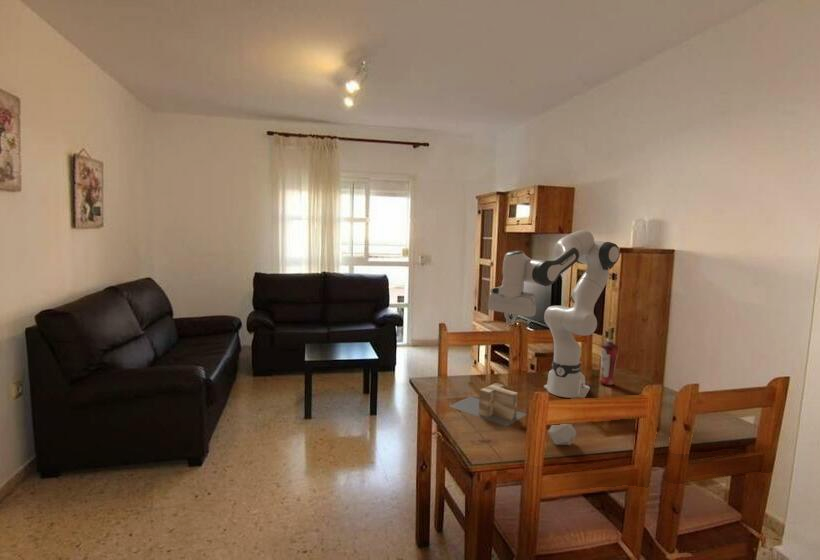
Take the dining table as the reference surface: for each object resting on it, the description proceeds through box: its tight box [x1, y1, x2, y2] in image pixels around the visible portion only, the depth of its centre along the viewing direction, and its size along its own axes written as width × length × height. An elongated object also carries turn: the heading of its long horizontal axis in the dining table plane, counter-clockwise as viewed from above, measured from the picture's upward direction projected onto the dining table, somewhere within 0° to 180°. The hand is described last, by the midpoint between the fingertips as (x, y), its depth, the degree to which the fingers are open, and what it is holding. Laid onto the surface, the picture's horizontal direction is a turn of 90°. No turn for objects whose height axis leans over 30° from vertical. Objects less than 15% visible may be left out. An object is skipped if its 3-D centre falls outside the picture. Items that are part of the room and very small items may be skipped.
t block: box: [479, 382, 518, 420], centre depth 183 cm, size 12×12×10 cm
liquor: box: [598, 326, 619, 386], centre depth 224 cm, size 7×7×28 cm
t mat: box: [448, 396, 528, 427], centre depth 187 cm, size 16×27×1 cm, turn 49°
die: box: [547, 423, 577, 446], centre depth 161 cm, size 8×9×10 cm
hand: (510, 324), depth 192 cm, fingers closed
